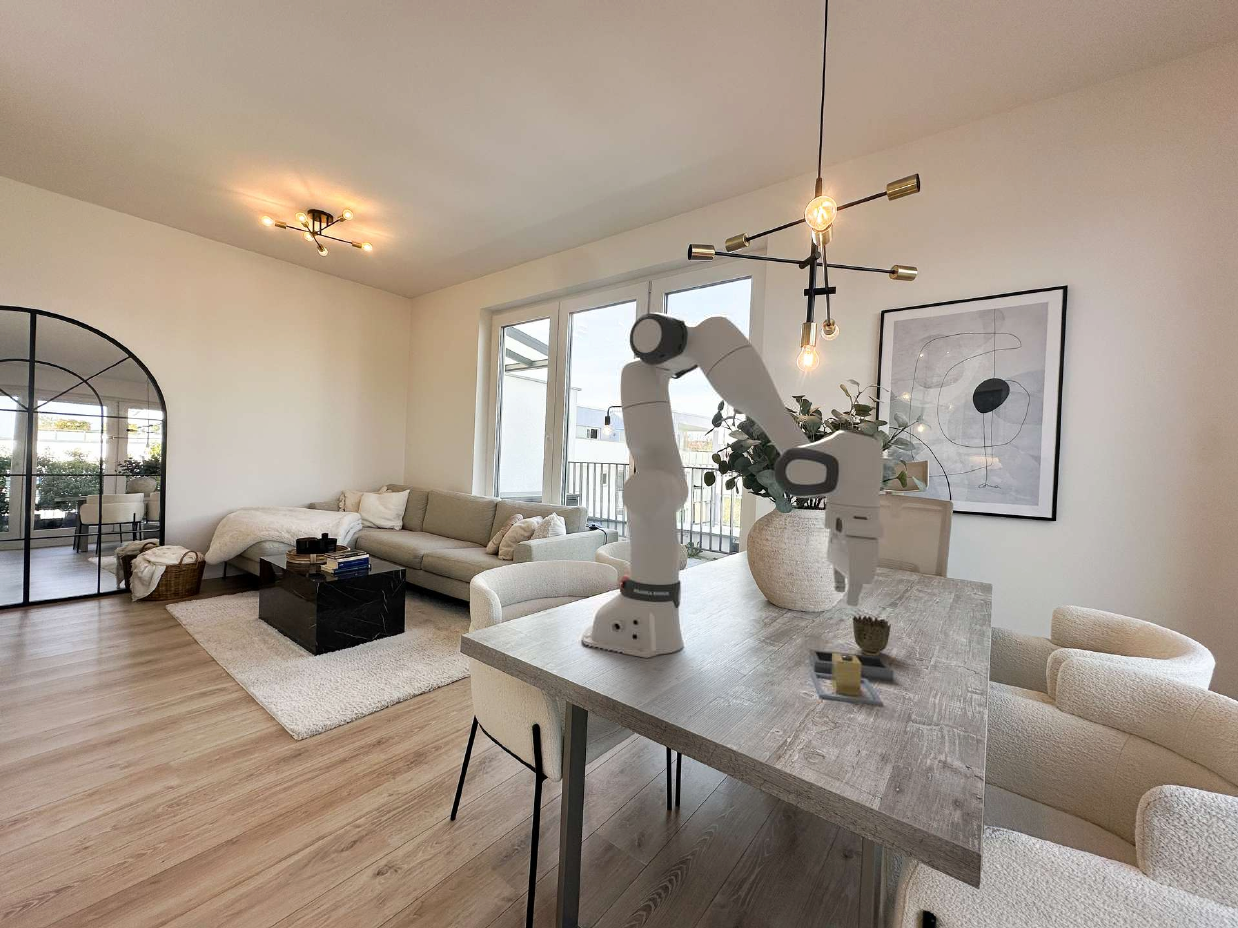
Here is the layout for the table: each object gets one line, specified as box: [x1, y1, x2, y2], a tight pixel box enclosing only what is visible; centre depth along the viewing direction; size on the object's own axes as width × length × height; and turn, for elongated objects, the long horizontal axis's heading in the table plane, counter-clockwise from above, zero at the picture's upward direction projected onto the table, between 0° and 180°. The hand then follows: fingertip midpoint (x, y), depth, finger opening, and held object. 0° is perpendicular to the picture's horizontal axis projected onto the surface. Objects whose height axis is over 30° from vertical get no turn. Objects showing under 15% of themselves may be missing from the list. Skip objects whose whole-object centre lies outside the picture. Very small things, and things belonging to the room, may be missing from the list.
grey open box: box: [808, 648, 895, 682], centre depth 100 cm, size 14×7×3 cm, turn 78°
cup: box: [852, 615, 892, 657], centre depth 111 cm, size 8×7×8 cm
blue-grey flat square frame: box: [809, 671, 884, 707], centre depth 91 cm, size 10×10×2 cm
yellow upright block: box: [830, 653, 862, 697], centre depth 91 cm, size 4×4×6 cm
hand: (845, 597), depth 92 cm, fingers open, 8 cm apart
